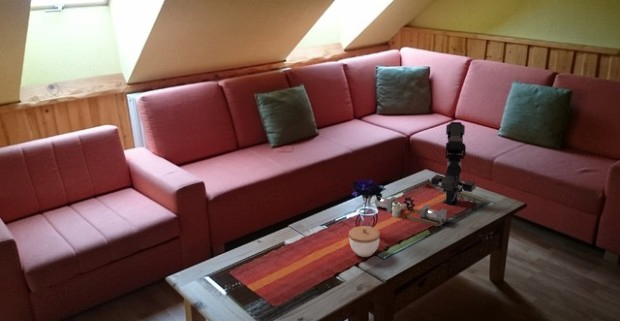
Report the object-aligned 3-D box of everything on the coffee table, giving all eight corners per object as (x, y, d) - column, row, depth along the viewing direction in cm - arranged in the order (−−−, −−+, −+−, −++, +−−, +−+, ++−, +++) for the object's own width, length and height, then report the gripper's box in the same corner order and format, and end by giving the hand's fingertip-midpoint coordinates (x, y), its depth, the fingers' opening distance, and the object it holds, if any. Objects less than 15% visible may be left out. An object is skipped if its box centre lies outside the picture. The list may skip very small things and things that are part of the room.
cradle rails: (415, 211, 251) (415, 208, 250) (445, 218, 242) (445, 216, 242) (406, 218, 244) (407, 215, 244) (437, 226, 236) (437, 223, 235)
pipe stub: (374, 208, 256) (374, 197, 254) (380, 204, 260) (380, 193, 259) (390, 212, 251) (390, 201, 249) (396, 208, 255) (396, 197, 253)
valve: (398, 219, 244) (415, 211, 251) (398, 206, 242) (415, 199, 249) (387, 214, 249) (404, 207, 256) (387, 202, 247) (404, 195, 254)
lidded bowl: (345, 257, 213) (345, 233, 209) (353, 243, 224) (353, 220, 220) (375, 262, 209) (375, 237, 205) (382, 247, 220) (382, 223, 216)
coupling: (420, 220, 242) (420, 209, 240) (425, 215, 246) (426, 204, 244) (440, 225, 236) (441, 214, 234) (445, 220, 241) (446, 209, 239)
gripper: (426, 169, 226) (424, 202, 232) (467, 177, 216) (465, 212, 221) (436, 162, 235) (435, 194, 240) (477, 169, 224) (475, 202, 229)
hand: (452, 200), depth 232 cm, fingers closed
